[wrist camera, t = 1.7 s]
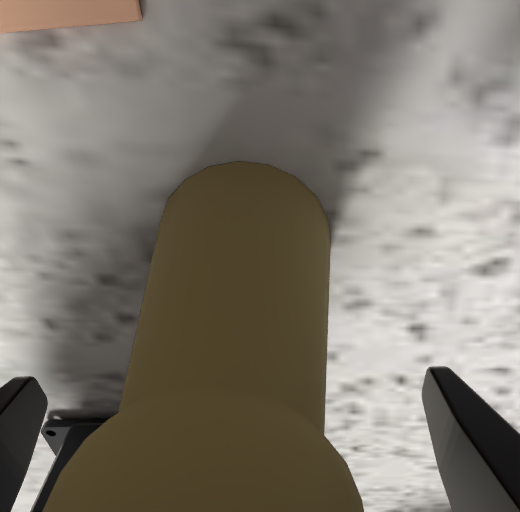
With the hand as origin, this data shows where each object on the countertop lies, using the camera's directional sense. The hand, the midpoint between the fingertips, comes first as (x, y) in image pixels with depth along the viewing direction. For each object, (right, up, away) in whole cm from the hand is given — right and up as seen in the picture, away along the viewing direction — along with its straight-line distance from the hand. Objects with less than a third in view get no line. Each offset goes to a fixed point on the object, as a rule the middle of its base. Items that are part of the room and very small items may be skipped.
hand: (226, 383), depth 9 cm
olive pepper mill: (0, +3, +5) cm, 6 cm away
